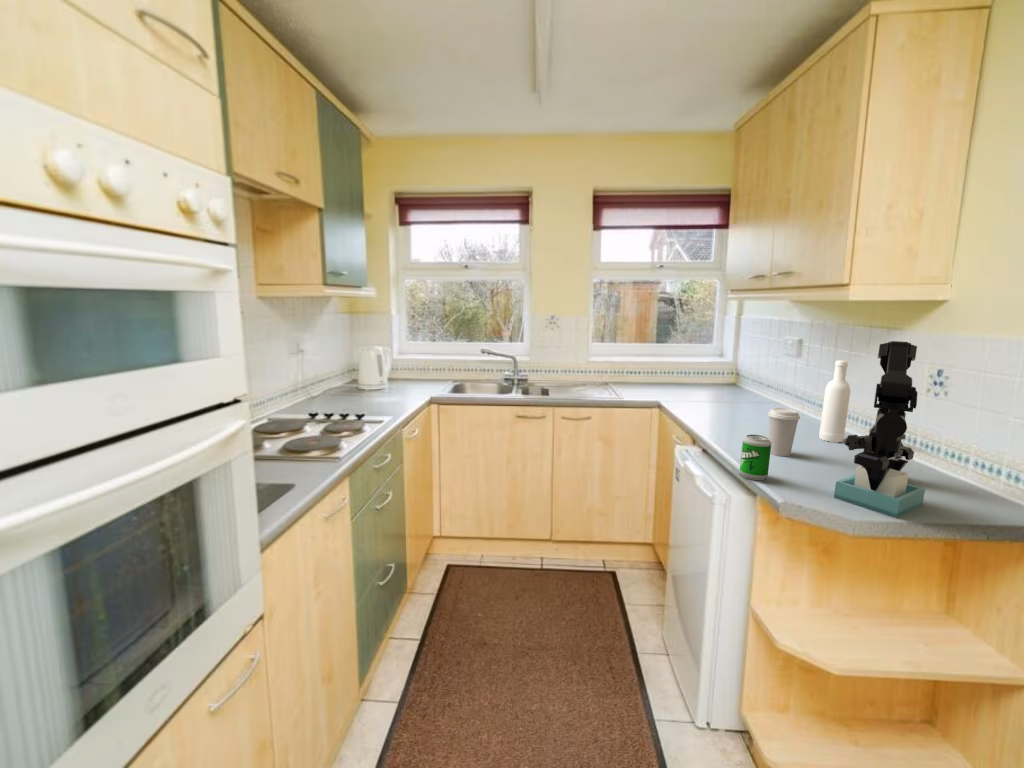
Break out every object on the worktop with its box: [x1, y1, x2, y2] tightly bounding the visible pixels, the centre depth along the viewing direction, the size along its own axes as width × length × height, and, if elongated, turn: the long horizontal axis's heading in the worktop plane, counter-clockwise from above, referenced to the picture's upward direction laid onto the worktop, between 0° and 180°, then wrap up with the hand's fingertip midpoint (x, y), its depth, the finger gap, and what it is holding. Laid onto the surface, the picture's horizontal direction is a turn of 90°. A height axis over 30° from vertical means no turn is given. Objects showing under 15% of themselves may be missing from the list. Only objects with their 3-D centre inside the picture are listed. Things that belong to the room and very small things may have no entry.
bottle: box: [818, 359, 852, 443], centre depth 181 cm, size 8×8×30 cm
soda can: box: [739, 434, 771, 481], centre depth 143 cm, size 8×8×12 cm
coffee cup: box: [767, 407, 801, 457], centre depth 165 cm, size 10×10×15 cm
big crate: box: [833, 474, 926, 519], centre depth 127 cm, size 15×14×4 cm
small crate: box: [854, 465, 909, 498], centre depth 127 cm, size 6×9×6 cm
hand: (879, 487), depth 127 cm, fingers closed on small crate, 6 cm apart
